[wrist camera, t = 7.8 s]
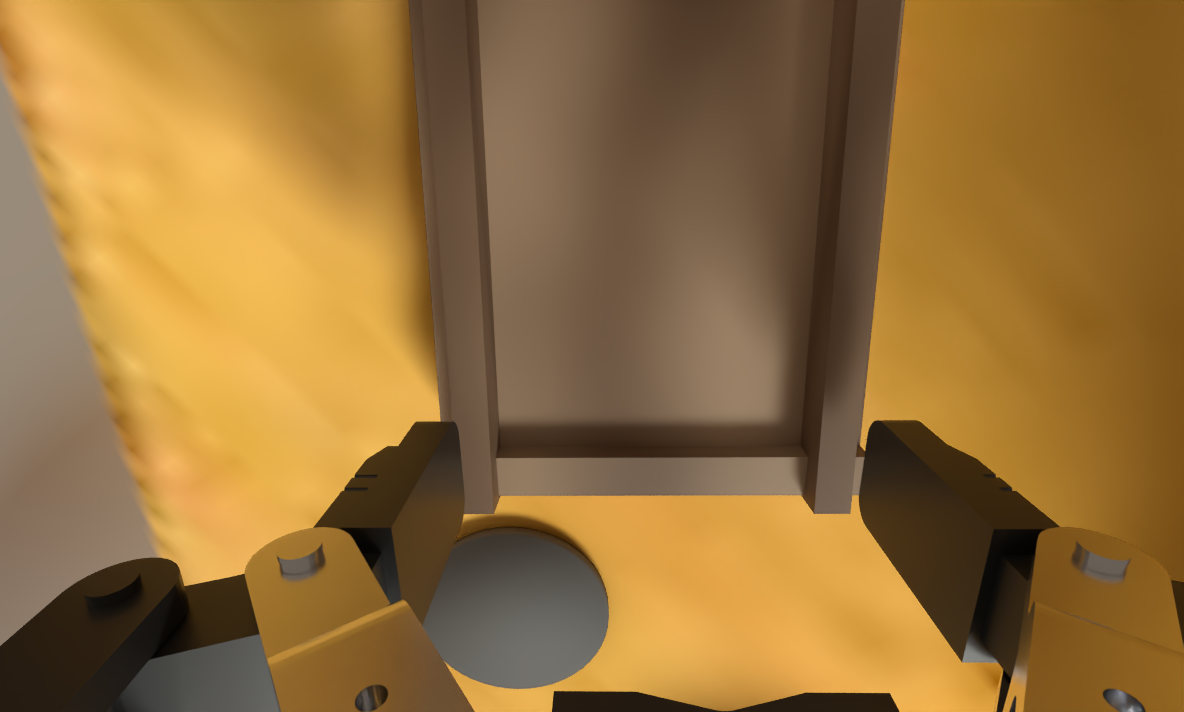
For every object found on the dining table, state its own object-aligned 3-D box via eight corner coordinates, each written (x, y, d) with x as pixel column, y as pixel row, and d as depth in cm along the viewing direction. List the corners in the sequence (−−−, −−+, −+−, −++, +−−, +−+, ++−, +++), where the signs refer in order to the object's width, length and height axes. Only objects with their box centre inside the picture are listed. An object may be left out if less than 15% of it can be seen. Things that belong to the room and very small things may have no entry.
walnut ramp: (876, -54, 13) (982, -136, 9) (816, 438, 17) (876, 517, 13) (427, -44, 13) (358, -121, 10) (469, 439, 17) (433, 518, 13)
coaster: (608, 527, 18) (608, 534, 18) (608, 679, 20) (608, 689, 20) (412, 527, 18) (408, 534, 18) (432, 678, 20) (429, 688, 20)
